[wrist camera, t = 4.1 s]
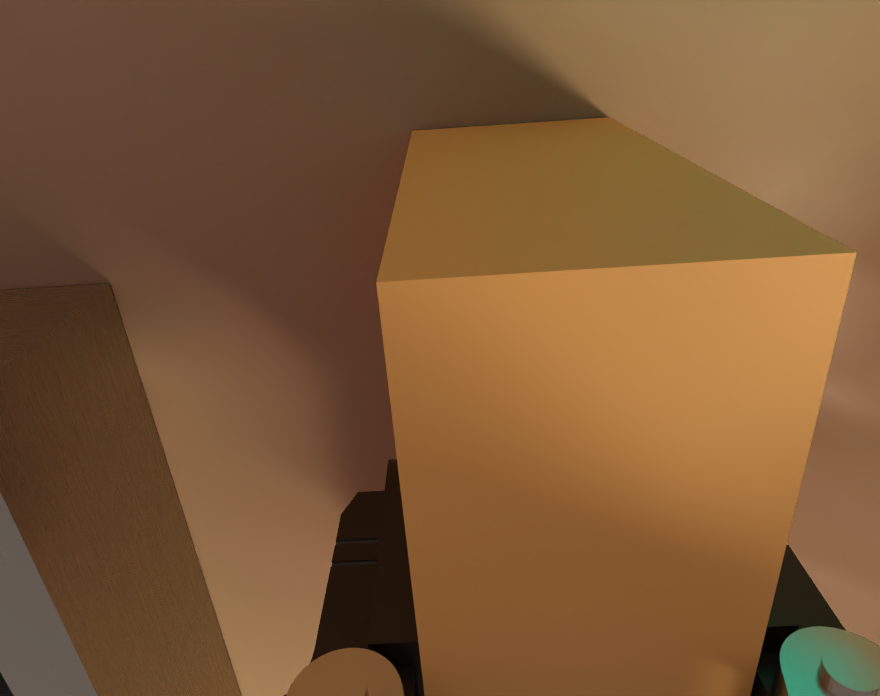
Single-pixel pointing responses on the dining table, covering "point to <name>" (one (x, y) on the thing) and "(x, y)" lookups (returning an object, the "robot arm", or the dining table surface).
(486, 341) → the long orange brick
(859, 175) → the dining table surface
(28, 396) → the grey slotted block
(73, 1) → the dining table surface
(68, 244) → the dining table surface
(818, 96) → the dining table surface
